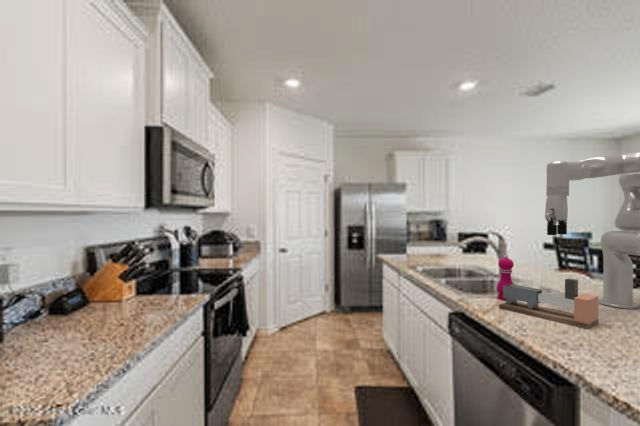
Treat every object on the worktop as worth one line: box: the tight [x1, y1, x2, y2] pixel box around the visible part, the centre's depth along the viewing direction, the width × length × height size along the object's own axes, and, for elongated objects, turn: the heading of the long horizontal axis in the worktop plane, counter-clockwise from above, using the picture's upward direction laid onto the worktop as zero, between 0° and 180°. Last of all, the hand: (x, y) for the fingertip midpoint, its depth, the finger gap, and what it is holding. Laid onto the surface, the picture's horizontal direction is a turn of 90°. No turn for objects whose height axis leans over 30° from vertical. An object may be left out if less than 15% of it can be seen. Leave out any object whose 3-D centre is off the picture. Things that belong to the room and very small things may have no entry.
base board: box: [498, 301, 600, 329], centre depth 130 cm, size 11×30×2 cm, turn 35°
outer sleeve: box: [503, 283, 543, 310], centre depth 137 cm, size 5×12×8 cm, turn 35°
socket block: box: [573, 293, 599, 324], centre depth 119 cm, size 10×4×8 cm, turn 125°
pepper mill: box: [496, 254, 515, 301], centre depth 153 cm, size 7×7×20 cm
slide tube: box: [537, 278, 579, 310], centre depth 126 cm, size 3×19×10 cm, turn 35°
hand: (557, 234), depth 137 cm, fingers open, 9 cm apart
